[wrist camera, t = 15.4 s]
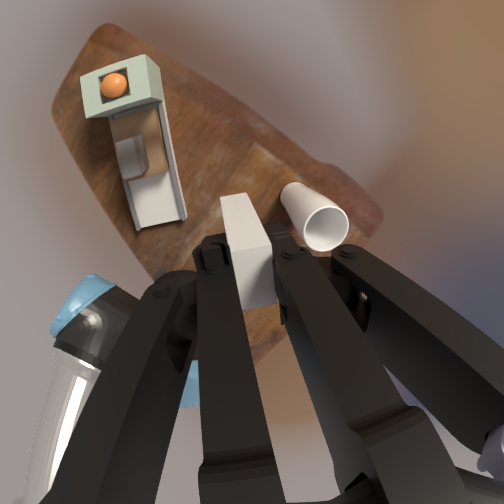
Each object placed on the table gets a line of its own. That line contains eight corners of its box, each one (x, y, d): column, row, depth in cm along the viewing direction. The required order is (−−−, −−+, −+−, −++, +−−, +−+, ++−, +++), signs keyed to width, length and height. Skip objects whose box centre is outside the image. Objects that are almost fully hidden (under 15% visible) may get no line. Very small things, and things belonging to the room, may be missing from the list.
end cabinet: (164, 101, 37) (151, 96, 27) (112, 116, 36) (86, 118, 27) (159, 67, 34) (144, 53, 24) (107, 83, 33) (80, 77, 24)
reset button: (131, 94, 28) (126, 92, 26) (108, 101, 28) (102, 100, 26) (127, 72, 26) (122, 69, 24) (105, 79, 26) (99, 78, 24)
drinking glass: (315, 206, 50) (352, 242, 37) (281, 218, 50) (308, 259, 37) (306, 172, 46) (345, 198, 33) (270, 184, 46) (297, 215, 33)
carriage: (169, 168, 41) (160, 181, 33) (128, 178, 40) (111, 194, 32) (157, 108, 36) (144, 106, 28) (115, 120, 35) (94, 122, 27)
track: (187, 214, 47) (186, 220, 45) (139, 225, 46) (136, 230, 44) (164, 101, 37) (162, 100, 35) (112, 116, 36) (107, 116, 34)
